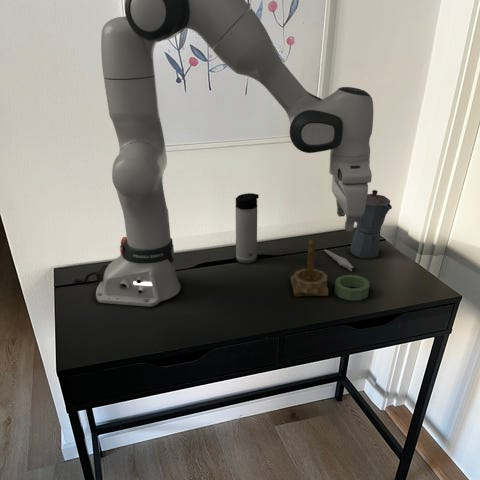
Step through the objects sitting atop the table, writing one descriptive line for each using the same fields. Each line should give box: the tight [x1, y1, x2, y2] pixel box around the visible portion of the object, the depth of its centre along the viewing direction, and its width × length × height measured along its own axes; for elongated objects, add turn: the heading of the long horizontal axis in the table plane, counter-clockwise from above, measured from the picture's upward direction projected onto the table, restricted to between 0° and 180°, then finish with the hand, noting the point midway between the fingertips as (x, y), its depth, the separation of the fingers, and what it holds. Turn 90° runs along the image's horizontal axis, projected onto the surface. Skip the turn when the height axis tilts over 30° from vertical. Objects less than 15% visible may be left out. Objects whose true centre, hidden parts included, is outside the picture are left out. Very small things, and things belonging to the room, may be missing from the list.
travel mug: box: [234, 192, 260, 264], centre depth 151 cm, size 6×7×20 cm
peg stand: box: [289, 239, 330, 297], centre depth 137 cm, size 9×9×14 cm
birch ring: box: [292, 268, 329, 294], centre depth 137 cm, size 9×9×3 cm
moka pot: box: [349, 189, 393, 260], centre depth 154 cm, size 10×15×20 cm, turn 42°
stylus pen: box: [323, 248, 355, 272], centre depth 154 cm, size 15×3×2 cm, turn 25°
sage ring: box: [333, 274, 371, 302], centre depth 137 cm, size 9×9×3 cm
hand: (344, 222), depth 125 cm, fingers open, 8 cm apart
